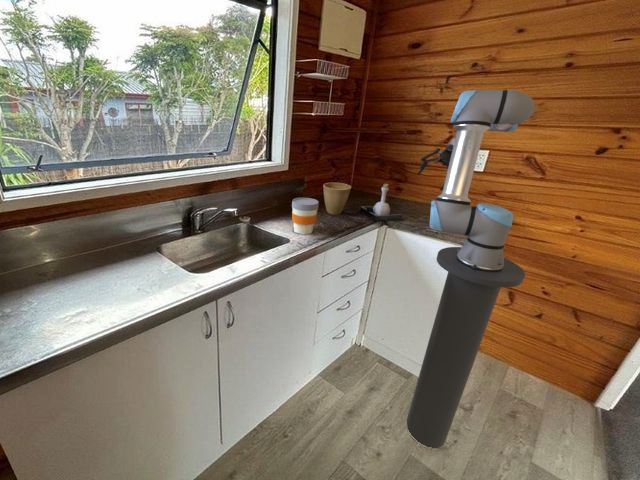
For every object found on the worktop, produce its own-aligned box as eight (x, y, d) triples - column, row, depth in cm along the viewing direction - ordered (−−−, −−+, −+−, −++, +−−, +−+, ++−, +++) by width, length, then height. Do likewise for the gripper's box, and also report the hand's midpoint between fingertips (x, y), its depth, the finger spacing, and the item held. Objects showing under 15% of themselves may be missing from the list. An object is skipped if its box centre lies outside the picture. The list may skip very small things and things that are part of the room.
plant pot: (315, 211, 175) (317, 184, 169) (333, 207, 183) (336, 181, 177) (334, 219, 163) (338, 190, 158) (353, 214, 171) (356, 186, 165)
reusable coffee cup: (320, 229, 149) (323, 200, 144) (309, 237, 139) (312, 206, 134) (297, 224, 156) (299, 196, 150) (285, 231, 146) (287, 201, 141)
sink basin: (384, 210, 179) (386, 201, 177) (401, 219, 164) (403, 210, 162) (359, 211, 176) (360, 202, 175) (373, 221, 162) (375, 211, 160)
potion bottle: (392, 216, 169) (398, 184, 163) (381, 218, 165) (387, 186, 159) (379, 211, 176) (384, 181, 170) (368, 214, 172) (373, 183, 166)
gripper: (471, 165, 157) (447, 197, 156) (429, 138, 160) (406, 169, 160) (480, 160, 150) (455, 194, 149) (437, 132, 153) (412, 165, 152)
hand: (429, 181), depth 154 cm, fingers open, 13 cm apart
